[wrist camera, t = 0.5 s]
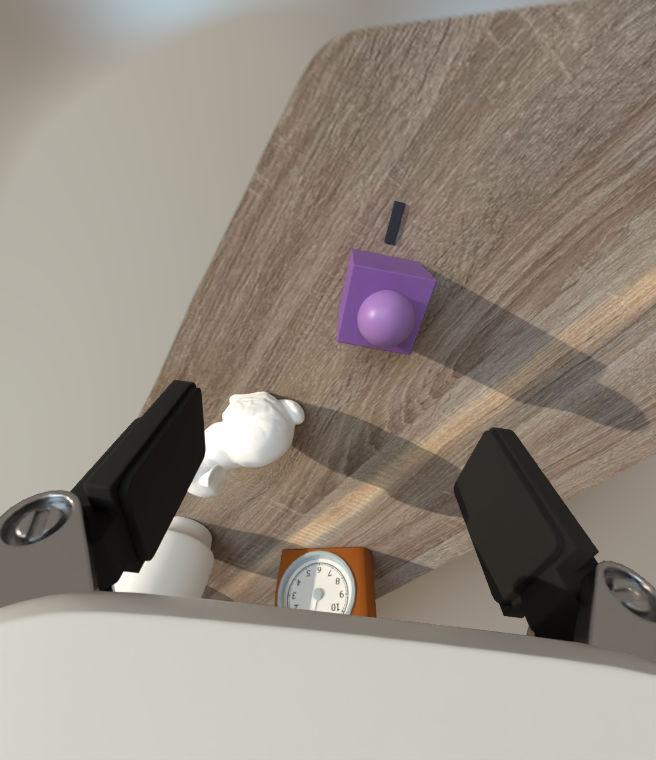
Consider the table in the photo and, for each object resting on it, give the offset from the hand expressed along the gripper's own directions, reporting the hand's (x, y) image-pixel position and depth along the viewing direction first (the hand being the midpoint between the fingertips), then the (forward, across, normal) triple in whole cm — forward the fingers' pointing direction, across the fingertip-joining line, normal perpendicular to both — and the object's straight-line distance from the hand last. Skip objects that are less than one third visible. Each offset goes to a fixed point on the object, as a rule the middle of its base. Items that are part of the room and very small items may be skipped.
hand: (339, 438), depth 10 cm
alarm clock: (+21, -6, +47) cm, 52 cm away
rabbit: (+21, +8, +17) cm, 28 cm away
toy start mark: (+20, -3, -5) cm, 21 cm away
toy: (+20, -3, 0) cm, 21 cm away
